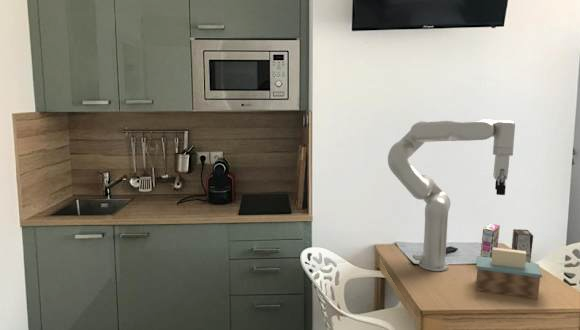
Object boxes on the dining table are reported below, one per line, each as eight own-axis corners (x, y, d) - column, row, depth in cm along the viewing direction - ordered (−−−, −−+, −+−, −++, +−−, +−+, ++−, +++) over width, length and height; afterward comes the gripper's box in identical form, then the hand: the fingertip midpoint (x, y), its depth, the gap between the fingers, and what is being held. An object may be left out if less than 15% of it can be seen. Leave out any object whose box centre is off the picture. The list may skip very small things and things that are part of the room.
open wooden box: (476, 290, 198) (477, 268, 197) (476, 279, 209) (478, 259, 207) (537, 299, 191) (540, 277, 189) (534, 288, 201) (537, 266, 199)
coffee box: (530, 271, 218) (533, 235, 216) (514, 270, 220) (517, 234, 217) (525, 263, 227) (528, 229, 224) (509, 262, 229) (513, 228, 226)
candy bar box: (490, 266, 224) (494, 230, 221) (479, 263, 227) (482, 228, 224) (497, 258, 233) (500, 224, 230) (486, 256, 236) (489, 222, 233)
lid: (476, 271, 197) (477, 251, 195) (476, 261, 208) (478, 242, 206) (541, 280, 189) (543, 259, 187) (538, 269, 200) (540, 249, 198)
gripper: (492, 147, 214) (489, 187, 217) (494, 153, 197) (490, 196, 200) (511, 148, 211) (508, 188, 214) (514, 154, 195) (511, 197, 198)
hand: (499, 192), depth 207 cm, fingers open, 9 cm apart
